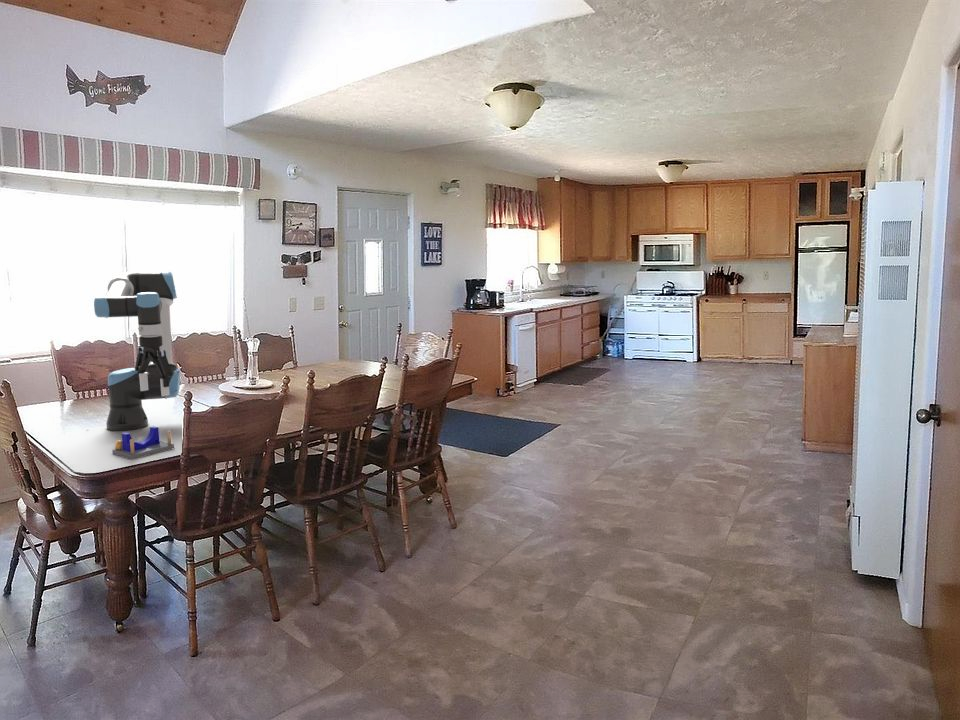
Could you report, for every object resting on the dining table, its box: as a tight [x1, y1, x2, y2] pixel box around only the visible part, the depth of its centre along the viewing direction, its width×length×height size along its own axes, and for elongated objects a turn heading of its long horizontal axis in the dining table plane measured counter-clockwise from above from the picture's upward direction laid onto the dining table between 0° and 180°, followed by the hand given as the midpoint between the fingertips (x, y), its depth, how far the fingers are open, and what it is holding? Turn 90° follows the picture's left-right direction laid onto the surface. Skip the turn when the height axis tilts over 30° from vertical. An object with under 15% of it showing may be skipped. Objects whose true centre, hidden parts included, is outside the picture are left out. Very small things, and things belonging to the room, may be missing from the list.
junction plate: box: [111, 430, 175, 460], centre depth 254 cm, size 12×16×6 cm
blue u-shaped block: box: [121, 425, 161, 452], centre depth 253 cm, size 12×4×6 cm, turn 145°
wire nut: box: [114, 439, 123, 450], centre depth 251 cm, size 2×2×3 cm
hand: (154, 393), depth 261 cm, fingers open, 13 cm apart
